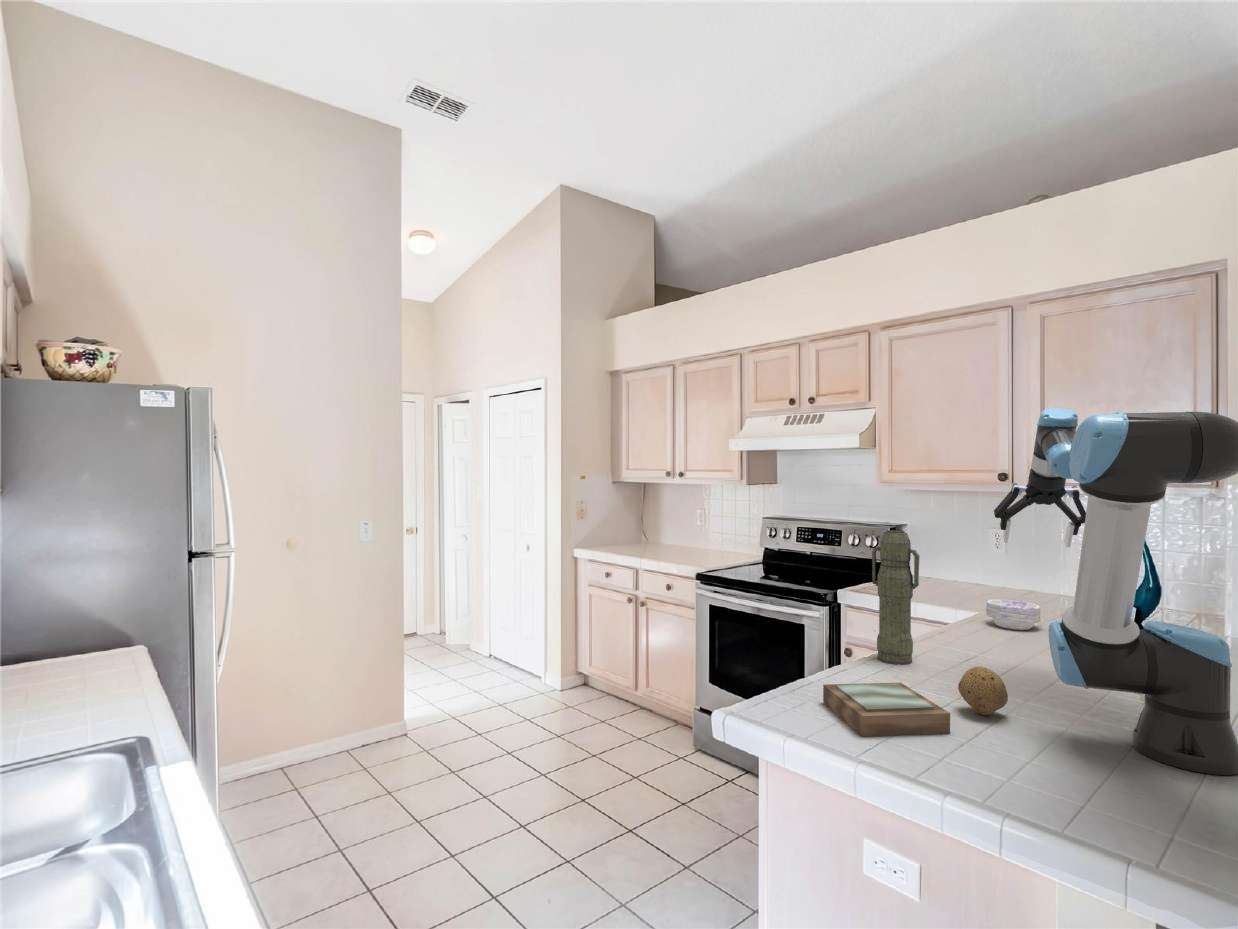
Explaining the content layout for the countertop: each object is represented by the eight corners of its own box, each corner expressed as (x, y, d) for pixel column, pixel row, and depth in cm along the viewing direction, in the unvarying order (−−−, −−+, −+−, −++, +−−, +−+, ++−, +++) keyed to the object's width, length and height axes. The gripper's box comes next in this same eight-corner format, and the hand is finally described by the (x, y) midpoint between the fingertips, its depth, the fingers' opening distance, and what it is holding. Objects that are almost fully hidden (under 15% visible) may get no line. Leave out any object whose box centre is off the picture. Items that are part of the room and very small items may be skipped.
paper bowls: (1029, 623, 217) (1030, 599, 217) (1048, 634, 202) (1048, 609, 202) (980, 620, 220) (980, 597, 221) (994, 631, 206) (994, 606, 206)
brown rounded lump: (947, 709, 138) (948, 663, 138) (976, 703, 141) (976, 658, 141) (987, 725, 129) (987, 675, 129) (1016, 718, 133) (1016, 670, 133)
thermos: (917, 667, 167) (918, 533, 167) (869, 660, 172) (870, 531, 173) (920, 659, 174) (920, 531, 175) (874, 652, 180) (874, 528, 180)
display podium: (950, 733, 125) (950, 710, 125) (862, 736, 123) (862, 713, 123) (900, 700, 143) (900, 680, 143) (823, 702, 141) (823, 682, 141)
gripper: (1107, 464, 153) (1090, 537, 163) (988, 460, 163) (979, 529, 172) (1115, 480, 147) (1097, 555, 157) (991, 475, 157) (982, 545, 166)
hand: (1035, 542), depth 165 cm, fingers open, 13 cm apart
